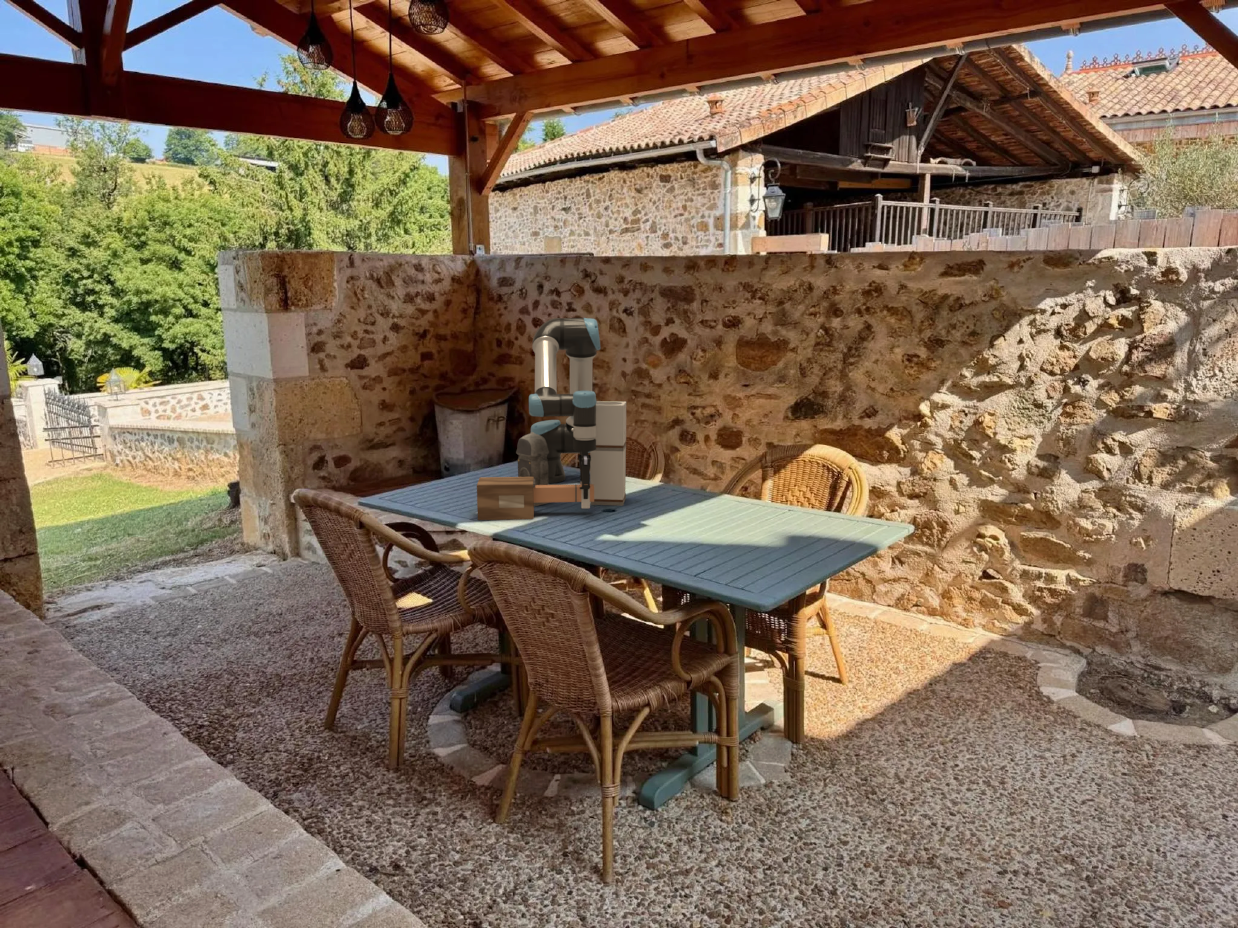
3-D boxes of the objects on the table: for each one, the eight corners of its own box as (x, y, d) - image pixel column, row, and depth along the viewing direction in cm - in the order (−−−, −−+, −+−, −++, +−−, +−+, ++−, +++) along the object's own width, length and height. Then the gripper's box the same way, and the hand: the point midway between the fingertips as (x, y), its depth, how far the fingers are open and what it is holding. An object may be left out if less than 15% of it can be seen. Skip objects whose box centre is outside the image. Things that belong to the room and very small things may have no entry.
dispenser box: (480, 510, 278) (479, 477, 276) (535, 509, 280) (535, 476, 278) (477, 520, 266) (476, 485, 264) (535, 519, 268) (534, 484, 266)
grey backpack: (535, 507, 282) (534, 436, 277) (511, 500, 293) (510, 431, 288) (557, 503, 289) (557, 433, 284) (533, 496, 299) (532, 428, 294)
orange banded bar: (518, 499, 275) (518, 485, 274) (593, 498, 277) (593, 484, 276) (518, 502, 271) (517, 487, 270) (594, 501, 273) (594, 486, 272)
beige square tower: (625, 498, 297) (626, 401, 290) (622, 505, 286) (623, 405, 279) (594, 497, 298) (594, 401, 291) (590, 504, 287) (590, 404, 280)
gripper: (572, 432, 281) (572, 496, 286) (574, 444, 259) (574, 512, 264) (594, 432, 282) (594, 496, 286) (598, 444, 260) (598, 512, 264)
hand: (584, 504), depth 275 cm, fingers open, 10 cm apart
